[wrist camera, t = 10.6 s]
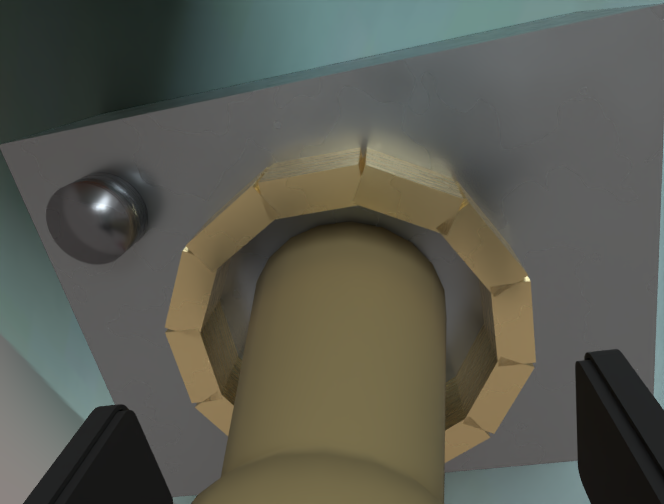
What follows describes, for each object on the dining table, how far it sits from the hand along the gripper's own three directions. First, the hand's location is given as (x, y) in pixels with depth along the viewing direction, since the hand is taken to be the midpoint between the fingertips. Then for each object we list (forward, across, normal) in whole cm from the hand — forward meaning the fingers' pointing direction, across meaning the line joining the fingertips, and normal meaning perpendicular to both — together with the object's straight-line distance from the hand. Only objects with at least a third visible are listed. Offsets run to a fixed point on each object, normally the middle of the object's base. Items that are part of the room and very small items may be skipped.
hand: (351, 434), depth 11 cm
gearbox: (+12, 0, 0) cm, 12 cm away
